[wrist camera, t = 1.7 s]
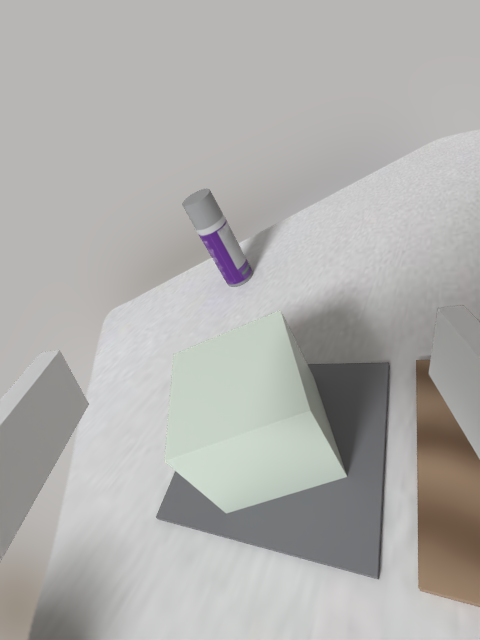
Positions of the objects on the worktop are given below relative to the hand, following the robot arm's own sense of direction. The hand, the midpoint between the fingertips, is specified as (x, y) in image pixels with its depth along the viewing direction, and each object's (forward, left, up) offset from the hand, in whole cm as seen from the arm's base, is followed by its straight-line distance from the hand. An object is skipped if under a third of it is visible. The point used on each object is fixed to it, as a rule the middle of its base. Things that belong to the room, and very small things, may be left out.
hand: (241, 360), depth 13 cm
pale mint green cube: (-7, -9, -21) cm, 24 cm away
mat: (-7, -9, -22) cm, 25 cm away
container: (-35, -23, -22) cm, 48 cm away
